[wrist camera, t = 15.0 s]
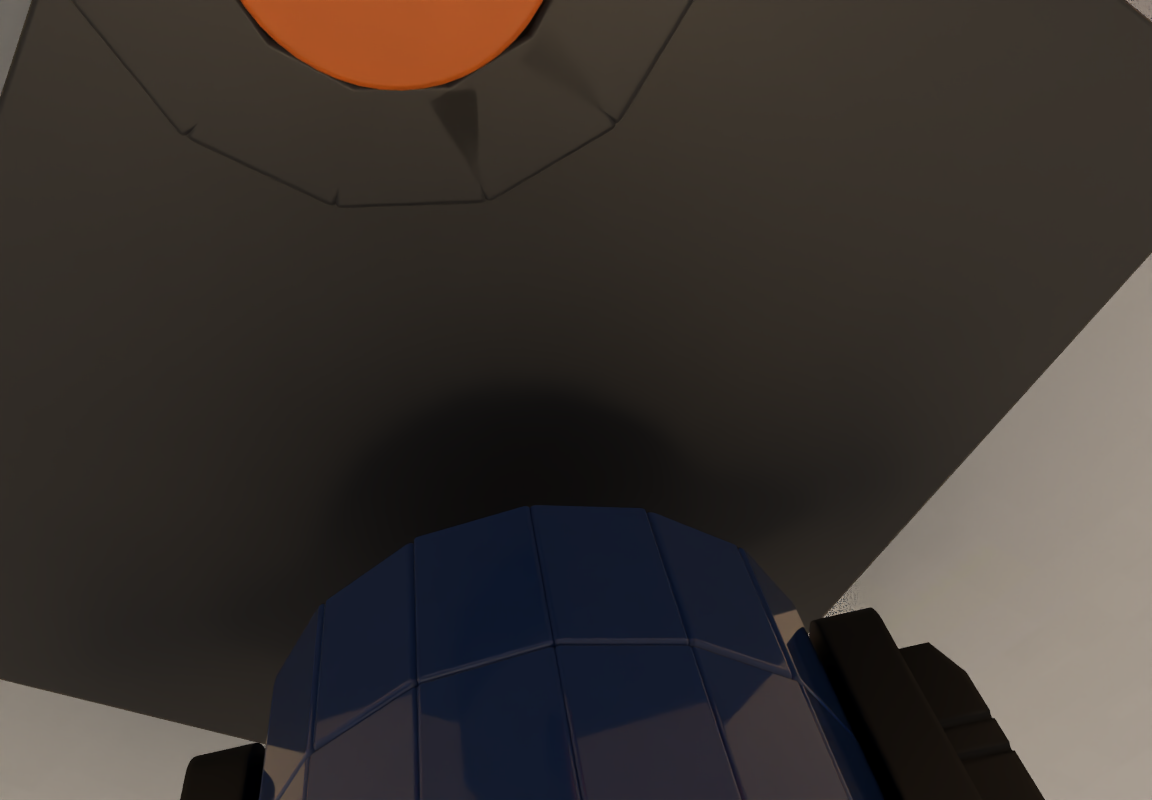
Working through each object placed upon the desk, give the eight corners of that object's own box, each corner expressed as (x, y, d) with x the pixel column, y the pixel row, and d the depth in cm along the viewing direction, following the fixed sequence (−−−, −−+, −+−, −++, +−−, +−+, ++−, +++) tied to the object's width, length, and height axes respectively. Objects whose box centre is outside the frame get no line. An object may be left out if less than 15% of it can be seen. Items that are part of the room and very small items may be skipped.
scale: (249, -670, 9) (189, -839, 6) (1200, 87, 14) (1378, 164, 11) (-153, 562, 15) (-263, 730, 12) (614, 770, 20) (647, 919, 17)
